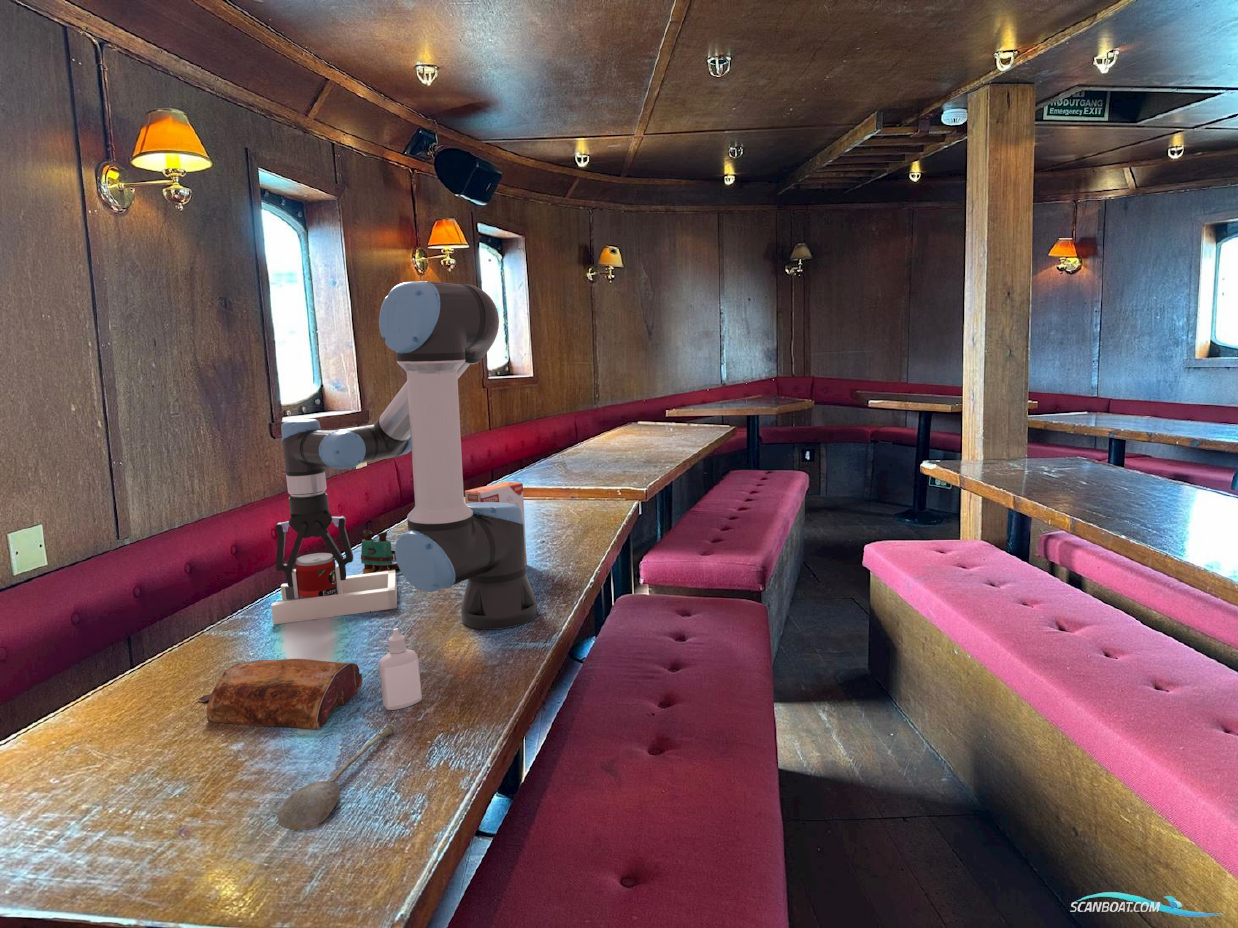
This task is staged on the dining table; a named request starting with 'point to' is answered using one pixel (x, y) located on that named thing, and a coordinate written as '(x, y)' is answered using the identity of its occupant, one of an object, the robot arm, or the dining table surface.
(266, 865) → the dining table surface
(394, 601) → the white rectangular tray
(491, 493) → the cracker box
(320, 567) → the canned food
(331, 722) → the dining table surface
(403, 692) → the eye dropper bottle
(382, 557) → the binoculars
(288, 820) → the soupspoon
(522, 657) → the dining table surface
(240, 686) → the cured meat
